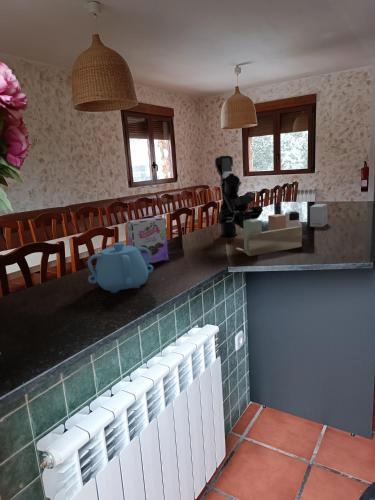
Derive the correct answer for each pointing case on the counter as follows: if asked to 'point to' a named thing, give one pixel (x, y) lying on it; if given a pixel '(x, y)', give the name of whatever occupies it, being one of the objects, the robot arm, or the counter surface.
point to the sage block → (251, 229)
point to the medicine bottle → (292, 219)
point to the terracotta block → (276, 222)
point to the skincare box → (318, 215)
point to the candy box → (149, 237)
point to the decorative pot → (120, 267)
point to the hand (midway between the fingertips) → (248, 230)
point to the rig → (273, 241)
